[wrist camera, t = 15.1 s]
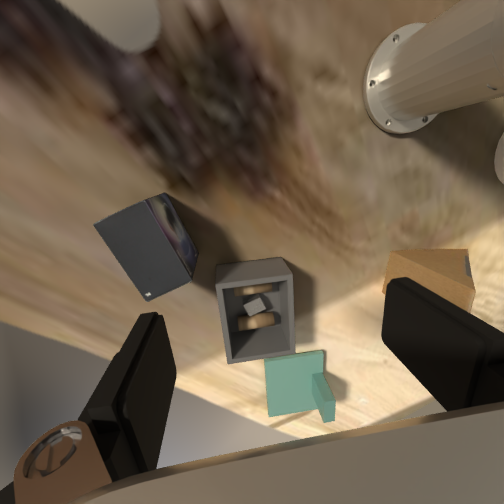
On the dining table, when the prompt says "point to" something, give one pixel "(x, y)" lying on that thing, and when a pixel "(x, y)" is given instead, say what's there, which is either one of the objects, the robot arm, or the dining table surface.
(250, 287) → the dowel
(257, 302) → the metal block
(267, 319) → the dowel
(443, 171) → the dining table surface
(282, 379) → the lid
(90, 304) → the dining table surface
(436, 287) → the sandwich container
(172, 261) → the small box
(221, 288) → the tub
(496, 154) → the honey pot
